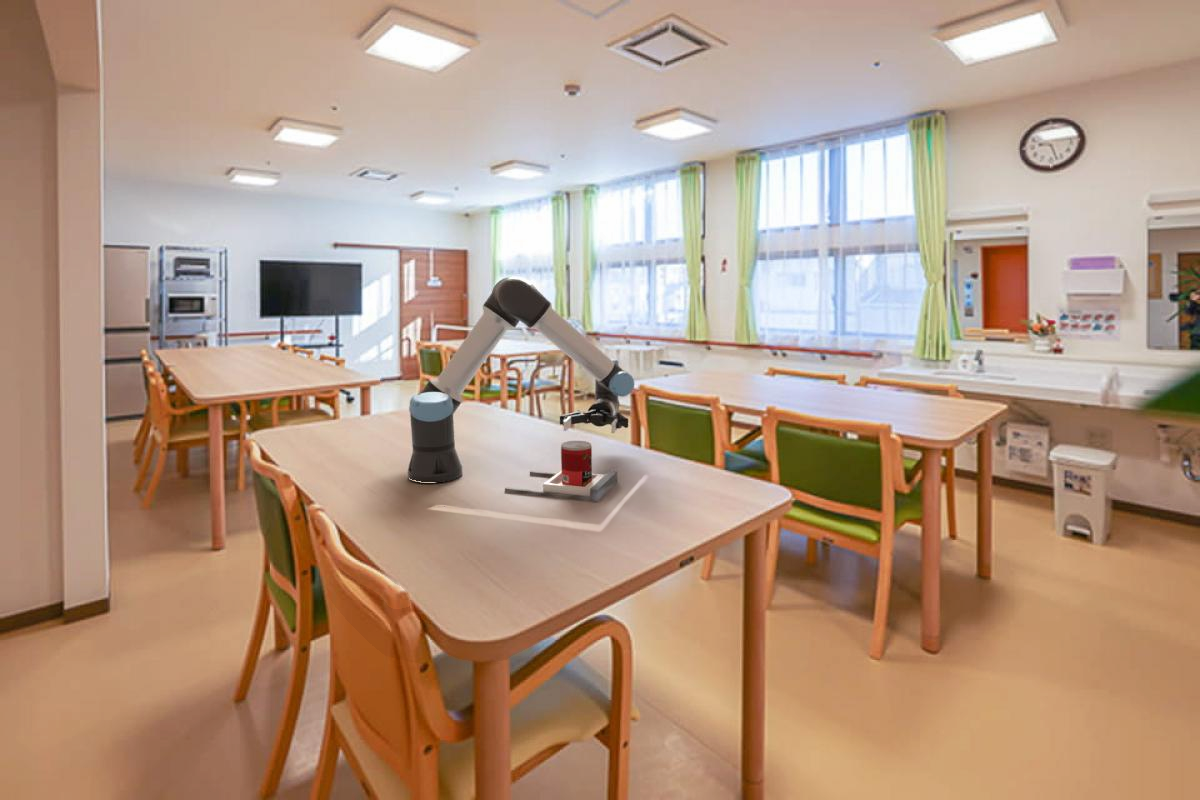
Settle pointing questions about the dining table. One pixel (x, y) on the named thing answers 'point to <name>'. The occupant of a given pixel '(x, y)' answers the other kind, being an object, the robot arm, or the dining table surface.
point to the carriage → (557, 486)
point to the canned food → (576, 463)
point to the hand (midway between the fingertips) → (588, 427)
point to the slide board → (595, 494)
